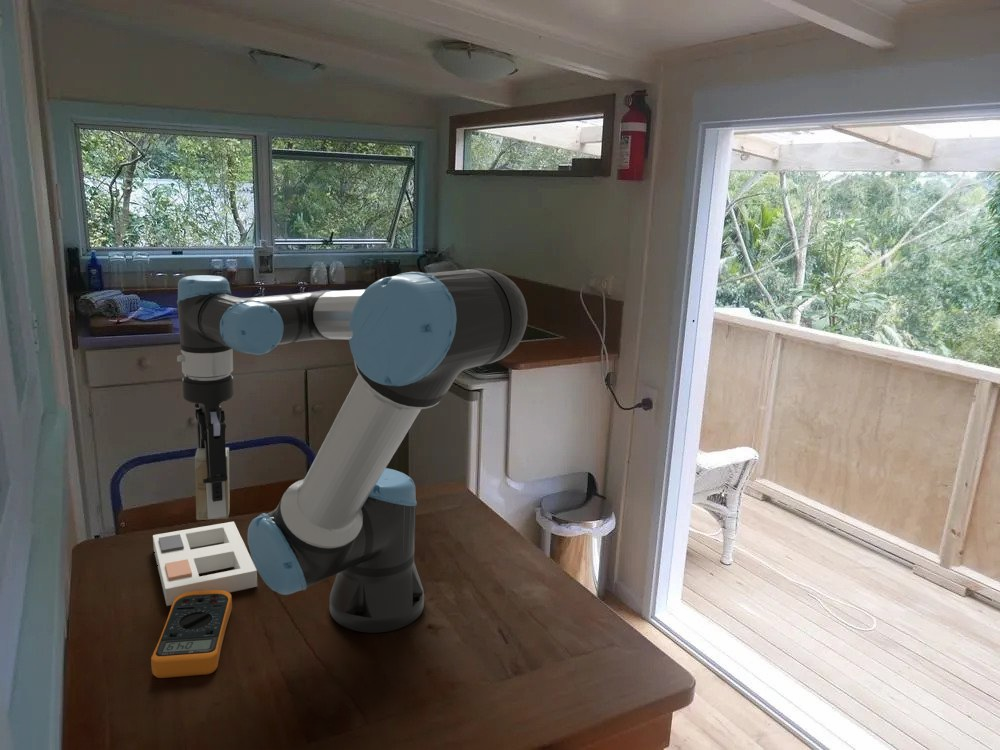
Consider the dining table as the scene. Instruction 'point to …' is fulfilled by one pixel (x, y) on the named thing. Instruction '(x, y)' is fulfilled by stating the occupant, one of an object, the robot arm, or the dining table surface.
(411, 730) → the dining table surface
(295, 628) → the dining table surface
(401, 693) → the dining table surface
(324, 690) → the dining table surface
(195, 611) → the multimeter
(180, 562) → the socket board
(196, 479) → the box
